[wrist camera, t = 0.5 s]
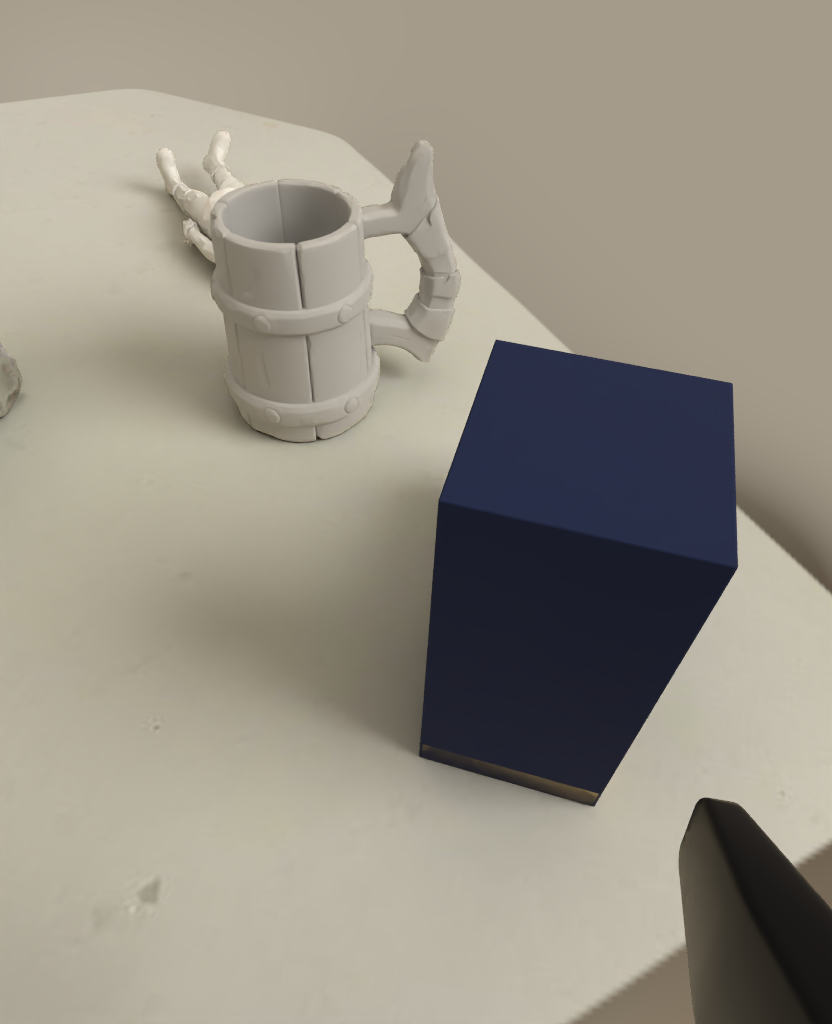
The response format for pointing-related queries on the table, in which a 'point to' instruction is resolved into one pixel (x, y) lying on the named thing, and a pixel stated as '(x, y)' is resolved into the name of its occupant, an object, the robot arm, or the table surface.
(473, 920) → the table surface
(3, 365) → the incense holder
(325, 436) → the mug
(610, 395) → the navy blue box
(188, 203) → the figurine
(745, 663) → the table surface
